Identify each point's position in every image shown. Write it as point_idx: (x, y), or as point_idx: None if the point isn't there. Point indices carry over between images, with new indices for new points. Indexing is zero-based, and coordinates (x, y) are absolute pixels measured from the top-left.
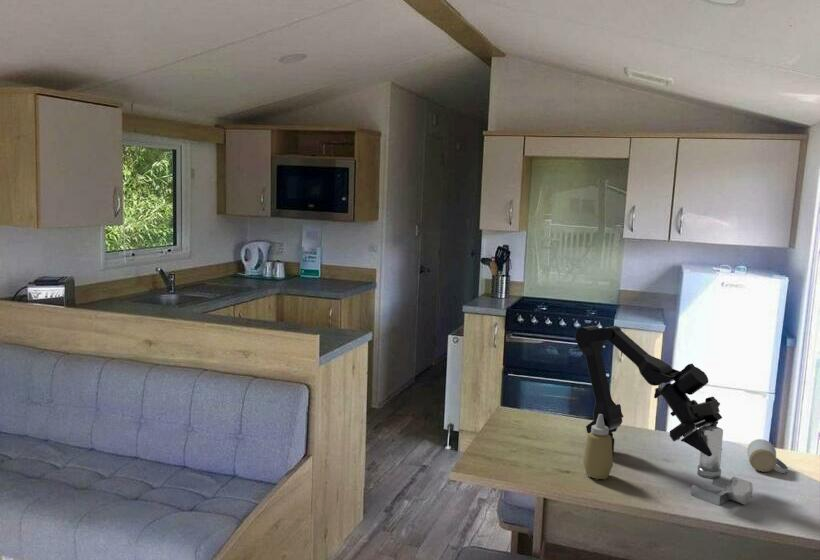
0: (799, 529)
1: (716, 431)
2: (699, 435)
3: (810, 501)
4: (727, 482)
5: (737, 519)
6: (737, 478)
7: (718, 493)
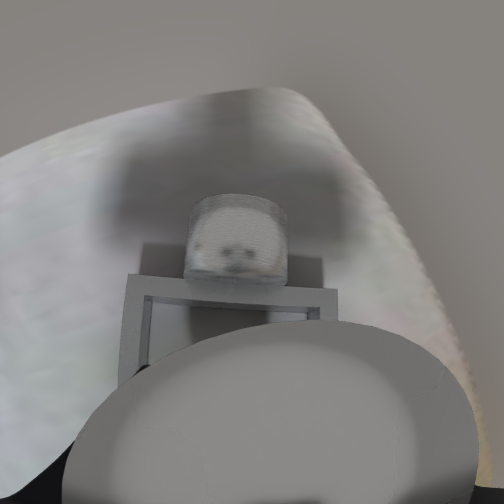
0: (278, 105)
1: (410, 403)
2: (471, 495)
3: (77, 130)
4: (143, 336)
5: (363, 219)
6: (239, 243)
7: (318, 304)
